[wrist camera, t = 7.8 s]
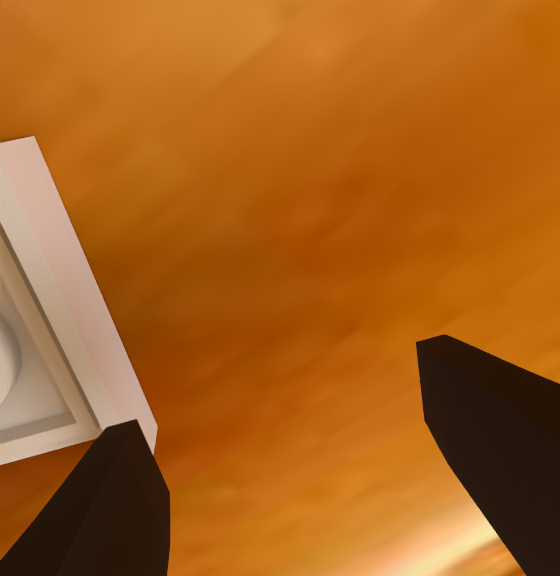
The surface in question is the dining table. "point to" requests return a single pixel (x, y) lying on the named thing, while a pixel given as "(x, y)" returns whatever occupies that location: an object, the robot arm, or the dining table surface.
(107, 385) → the tray
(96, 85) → the dining table surface
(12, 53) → the dining table surface
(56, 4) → the dining table surface
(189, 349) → the dining table surface
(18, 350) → the beige rounded shape
